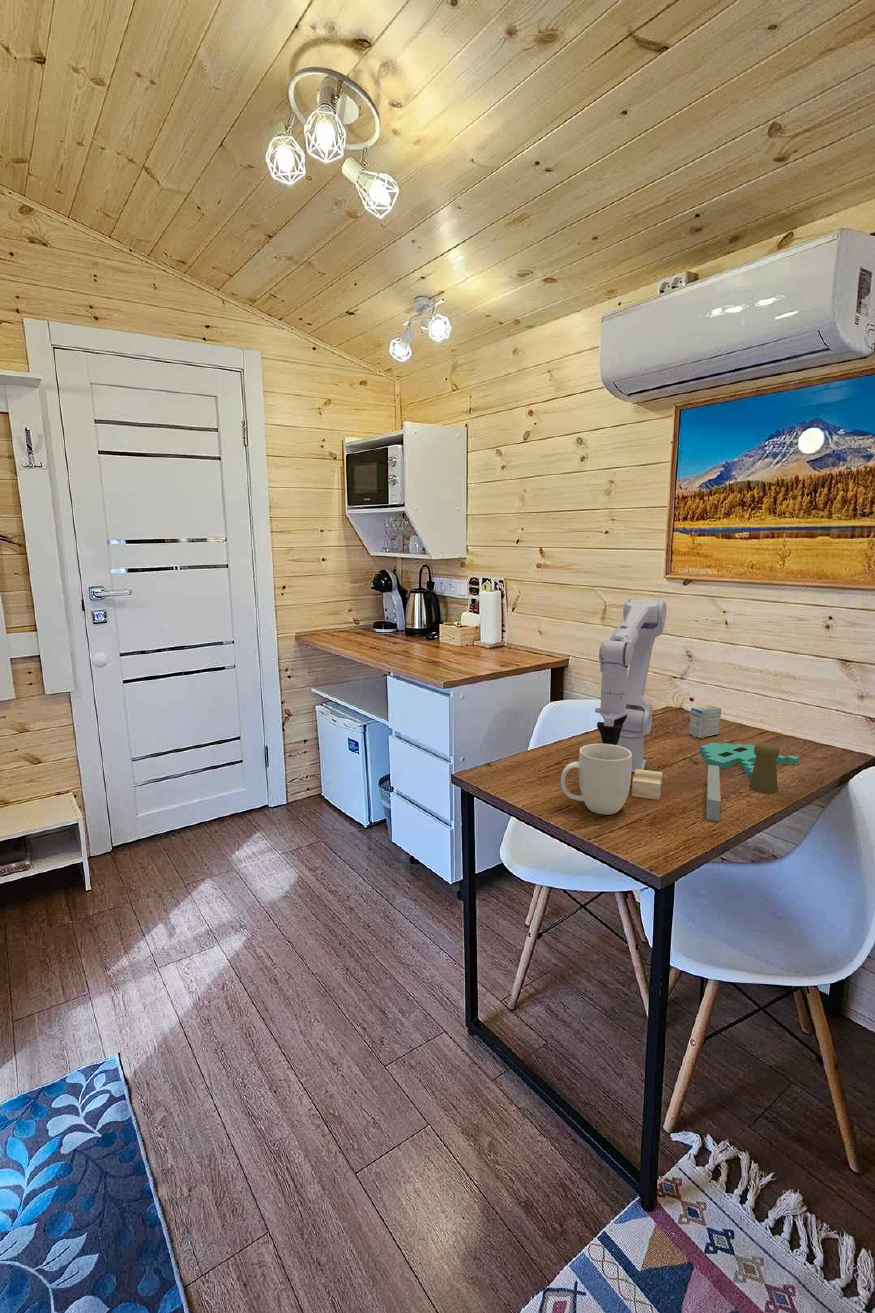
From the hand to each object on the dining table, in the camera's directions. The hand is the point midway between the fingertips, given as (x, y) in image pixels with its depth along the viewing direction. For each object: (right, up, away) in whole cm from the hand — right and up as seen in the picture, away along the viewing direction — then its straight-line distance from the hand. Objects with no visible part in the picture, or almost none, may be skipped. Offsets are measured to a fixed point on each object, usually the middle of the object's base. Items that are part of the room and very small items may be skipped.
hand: (611, 748), depth 146 cm
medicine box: (+39, -2, +40) cm, 56 cm away
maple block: (+8, -10, -1) cm, 13 cm away
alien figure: (+40, -7, +18) cm, 44 cm away
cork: (+36, -10, 0) cm, 37 cm away
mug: (-6, -12, -10) cm, 17 cm away
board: (+21, -11, -7) cm, 24 cm away
